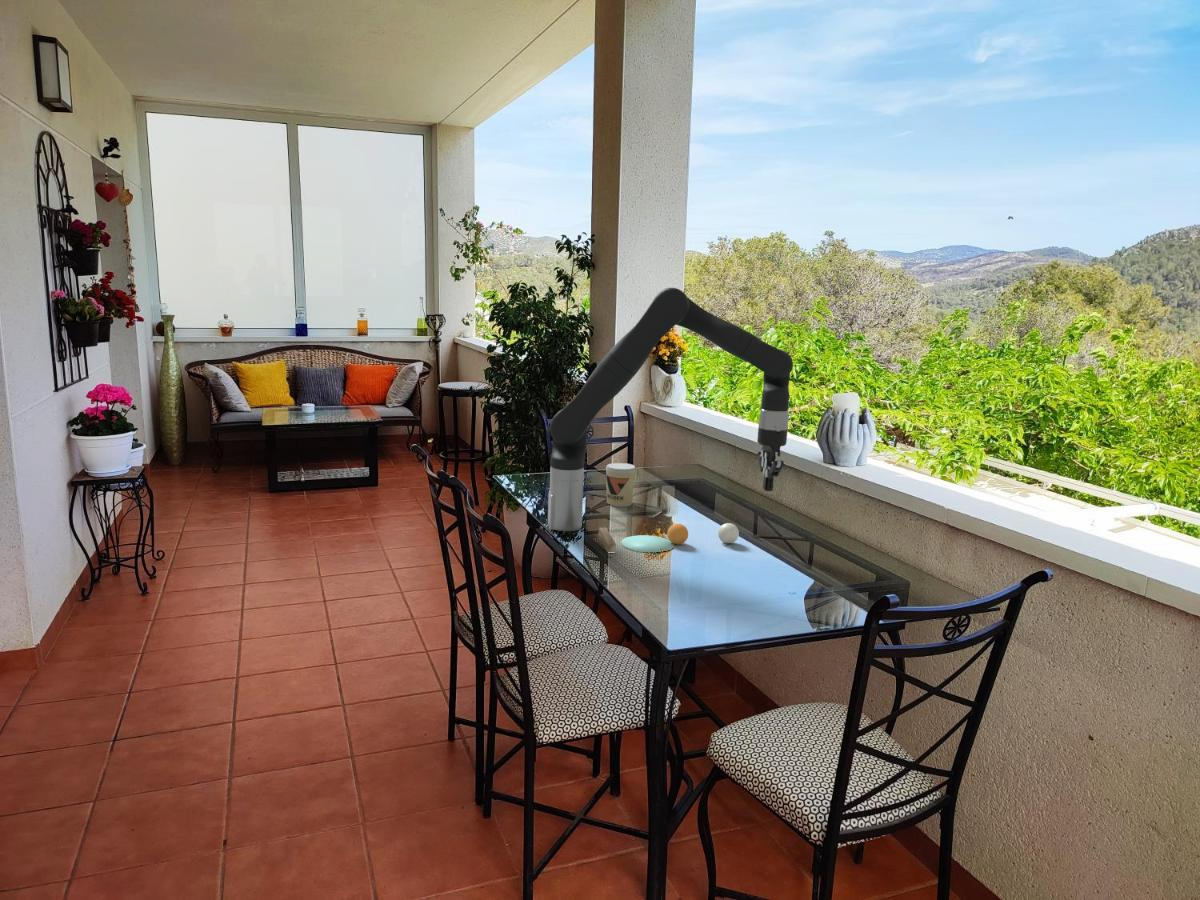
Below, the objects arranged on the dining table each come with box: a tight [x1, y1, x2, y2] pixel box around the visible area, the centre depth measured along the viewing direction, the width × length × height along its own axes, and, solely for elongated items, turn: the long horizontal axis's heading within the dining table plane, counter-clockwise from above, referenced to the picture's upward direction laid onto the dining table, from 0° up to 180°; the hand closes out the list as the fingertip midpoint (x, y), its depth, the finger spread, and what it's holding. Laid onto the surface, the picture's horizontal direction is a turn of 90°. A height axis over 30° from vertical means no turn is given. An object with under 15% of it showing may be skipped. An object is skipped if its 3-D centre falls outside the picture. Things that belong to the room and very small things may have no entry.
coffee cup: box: [605, 462, 637, 508], centre depth 245 cm, size 9×9×12 cm
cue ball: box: [717, 522, 740, 544], centre depth 211 cm, size 6×6×6 cm
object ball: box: [667, 523, 689, 545], centre depth 209 cm, size 6×6×6 cm
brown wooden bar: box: [598, 527, 617, 553], centre depth 206 cm, size 2×14×2 cm, turn 10°
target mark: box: [620, 534, 675, 554], centre depth 208 cm, size 14×14×1 cm
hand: (767, 490), depth 210 cm, fingers closed
